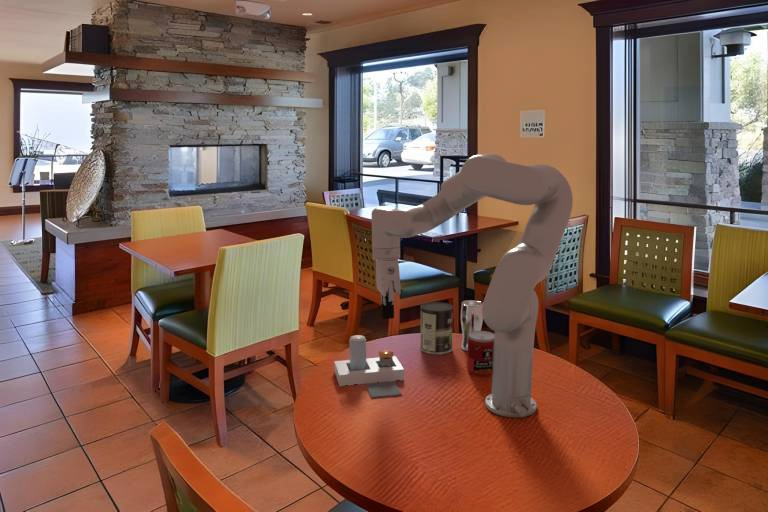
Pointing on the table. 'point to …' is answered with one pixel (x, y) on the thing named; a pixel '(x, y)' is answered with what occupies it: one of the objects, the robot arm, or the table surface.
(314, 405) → the table surface
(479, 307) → the beer glass
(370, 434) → the table surface
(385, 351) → the plunger
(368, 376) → the housing
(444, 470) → the table surface
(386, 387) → the mat
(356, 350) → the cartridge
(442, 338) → the coffee can
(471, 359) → the canned food
